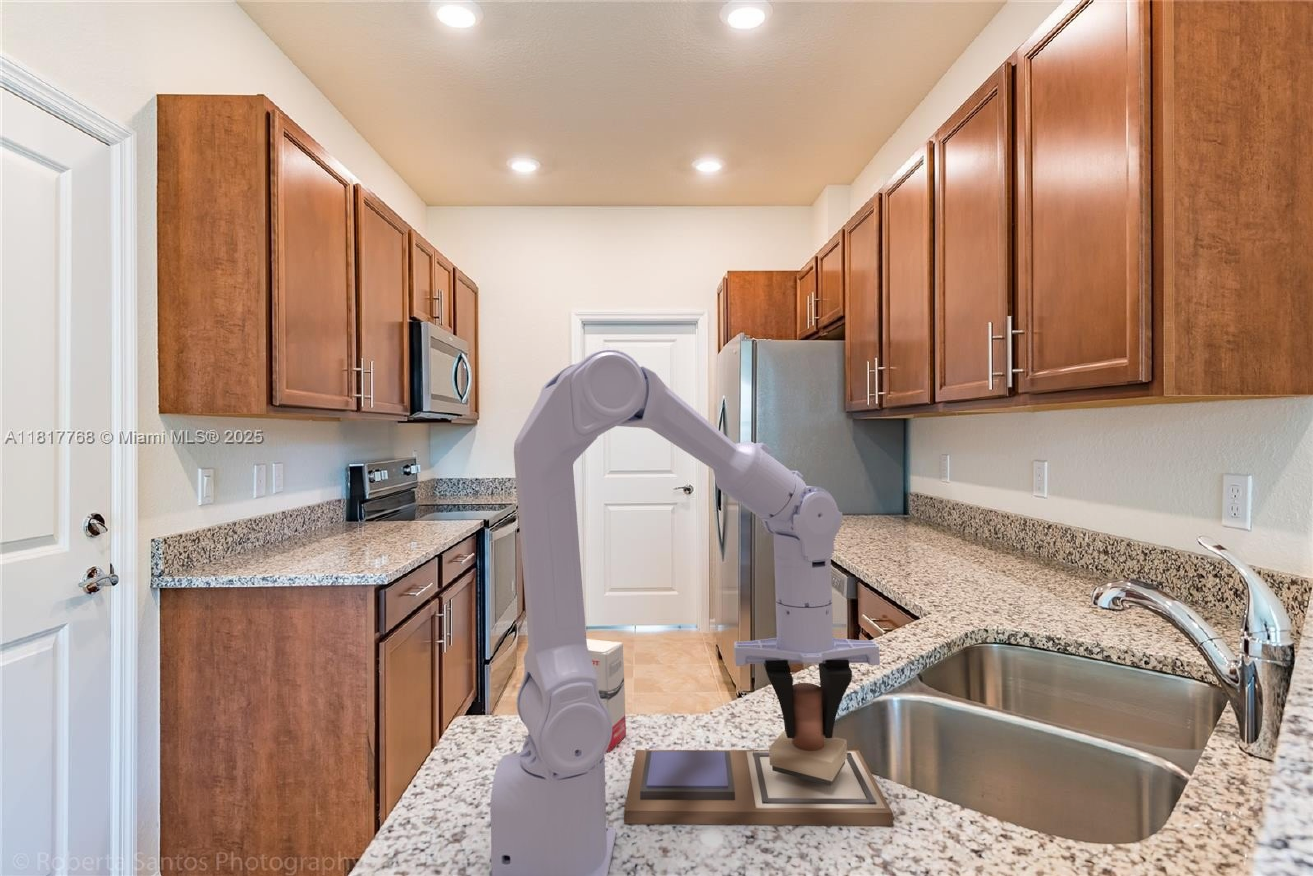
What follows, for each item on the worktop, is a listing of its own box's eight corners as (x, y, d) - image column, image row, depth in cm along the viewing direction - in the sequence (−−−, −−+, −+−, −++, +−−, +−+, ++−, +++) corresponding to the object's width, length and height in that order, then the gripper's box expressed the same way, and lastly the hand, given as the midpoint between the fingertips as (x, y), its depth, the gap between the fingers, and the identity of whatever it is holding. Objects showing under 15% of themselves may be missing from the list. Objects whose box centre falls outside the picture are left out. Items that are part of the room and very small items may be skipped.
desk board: (624, 823, 58) (623, 799, 59) (636, 760, 70) (635, 740, 70) (893, 826, 57) (892, 801, 57) (858, 761, 69) (858, 740, 69)
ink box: (627, 735, 77) (625, 640, 77) (608, 753, 72) (606, 652, 73) (569, 725, 80) (567, 634, 81) (547, 742, 76) (545, 645, 76)
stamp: (769, 771, 63) (767, 692, 63) (788, 748, 68) (785, 675, 68) (832, 787, 60) (829, 704, 60) (847, 763, 64) (844, 685, 64)
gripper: (735, 611, 60) (740, 752, 60) (887, 610, 59) (892, 752, 59) (731, 595, 67) (735, 721, 67) (866, 593, 66) (871, 721, 66)
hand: (808, 734), depth 63 cm, fingers closed on stamp, 3 cm apart
